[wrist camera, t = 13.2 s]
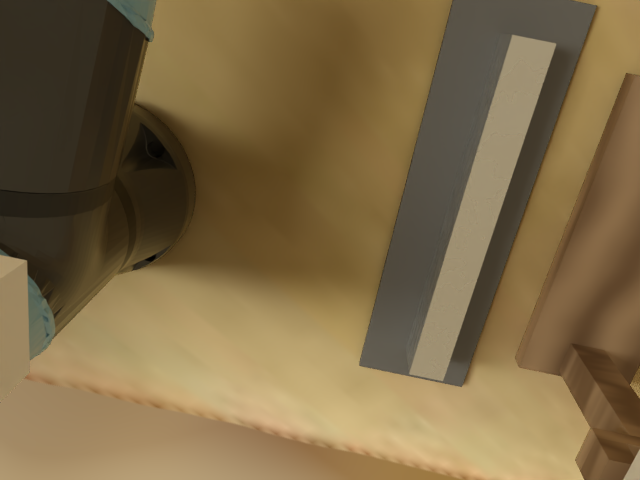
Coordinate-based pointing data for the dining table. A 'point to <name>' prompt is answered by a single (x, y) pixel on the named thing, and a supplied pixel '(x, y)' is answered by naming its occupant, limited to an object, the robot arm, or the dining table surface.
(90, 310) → the dining table surface
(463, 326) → the rubber mat
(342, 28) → the dining table surface
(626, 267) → the hook rack
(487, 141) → the steel rail
